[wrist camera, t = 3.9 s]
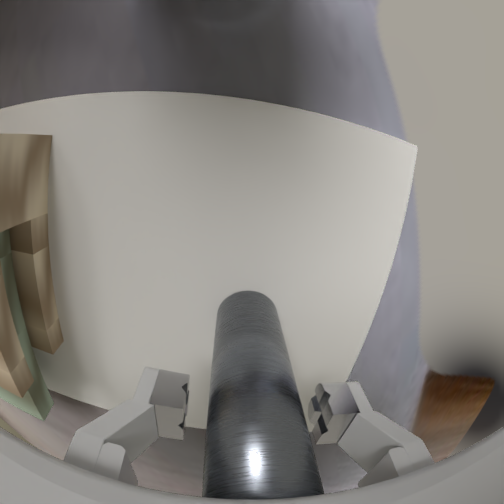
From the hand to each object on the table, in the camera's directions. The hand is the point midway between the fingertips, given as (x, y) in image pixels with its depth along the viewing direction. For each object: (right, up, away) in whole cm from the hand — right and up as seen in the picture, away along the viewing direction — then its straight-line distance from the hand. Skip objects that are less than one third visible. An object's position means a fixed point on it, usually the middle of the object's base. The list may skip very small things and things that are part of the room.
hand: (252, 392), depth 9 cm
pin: (0, +2, +5) cm, 5 cm away
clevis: (-16, +4, +3) cm, 17 cm away
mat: (-8, +3, +5) cm, 10 cm away
